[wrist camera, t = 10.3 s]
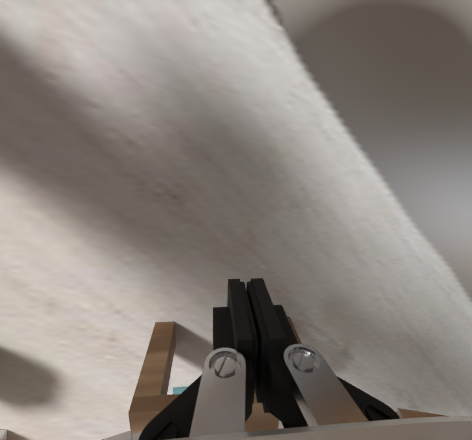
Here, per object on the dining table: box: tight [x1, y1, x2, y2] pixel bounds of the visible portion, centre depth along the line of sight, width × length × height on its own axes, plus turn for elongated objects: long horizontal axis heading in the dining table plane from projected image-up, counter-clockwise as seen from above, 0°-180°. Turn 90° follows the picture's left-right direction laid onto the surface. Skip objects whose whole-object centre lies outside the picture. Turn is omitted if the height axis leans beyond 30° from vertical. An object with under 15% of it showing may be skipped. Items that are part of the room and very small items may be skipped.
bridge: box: [129, 317, 302, 434], centre depth 24 cm, size 3×15×10 cm, turn 88°
